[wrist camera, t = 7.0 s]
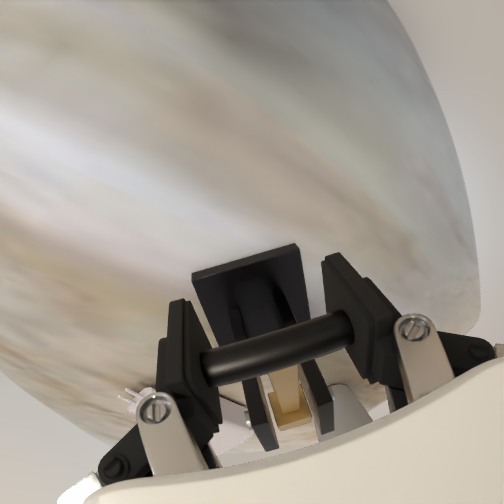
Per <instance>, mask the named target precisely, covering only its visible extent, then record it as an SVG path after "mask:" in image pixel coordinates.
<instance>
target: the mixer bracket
mask: <svg viewBox="0 0 504 504" xmlns="http://www.w3.org/2000/svg"><path fill="white" fill-rule="evenodd" d="M191 281H192V283H193V286H194V288H195V291H196V293H197V296H198V298H199V301H200V303H201V305H202V308H203V310H204V312H205V315H206V317H207V320H208V322H209V324H210V326H211V329H212V331H213V333H214V336H215V338H216V340H217V342H218V345H219V347H221V346H224V345H228V344H232V343H235V342H239V341H243V340H246V339H250V338H253V337H257V336H260V335H263V334H267V333H270V332H273V331H277V330H280V329H283V328H286V327H289V326H292V325H296V324H299V323H302V322H305V321H308V320H311V318H310V311H309V305H308V298H307V292H306V285H305V279H304V273H303V267H302V261H301V255H300V250H299V248H298V247H297V245H296V244H295V243H294V244H290V245H287V246H283V247H280V248H277V249H273V250H270V251H266V252H263V253H260V254H256V255H253V256H249V257H246V258H243V259H239V260H236V261H232V262H229V263H226V264H222V265H219V266H215V267H212V268H208V269H205V270H202V271H198V272H195V273H192V277H191ZM298 375H299V379H300V381H301V384H302V386H303V389H304V392H305V394H306V397H307V399H308V402H309V405H310V407H311V410H312V412H313V415H314V417H315V420H316V423H317V425H318V428H319V430H320V433H321V435H323V434H326V433H329V432H332V431H334V430H335V426H334V404H335V403H336V399H335V395H334V392H333V390H332V388H331V386H327V385H326V383H325V381H324V378H323V376H322V374H321V372H320V370H319V368H318V365H317V363H316V361H315V359H313V360H310V361H307V362H304V363H301V364H298ZM242 385H243V390H244V394H245V399H246V404H247V409H248V411H244V416H245V420H246V424H247V426H248V428H249V430H252V429H253V430H254V432H255V434H256V435H257V437H258V439H259V441H260V443H261V444H262V446H263V448H264V449H265V451H271V450H275V449H278V448H279V444H278V441H277V437H276V434H275V430H274V426H273V423H272V419H271V415H270V412H269V408H268V404H267V401H266V397H265V393H264V389H263V386H262V382H261V378H260V376H258V377H254V378H251V379H247V380H243V381H242Z"/></svg>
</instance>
